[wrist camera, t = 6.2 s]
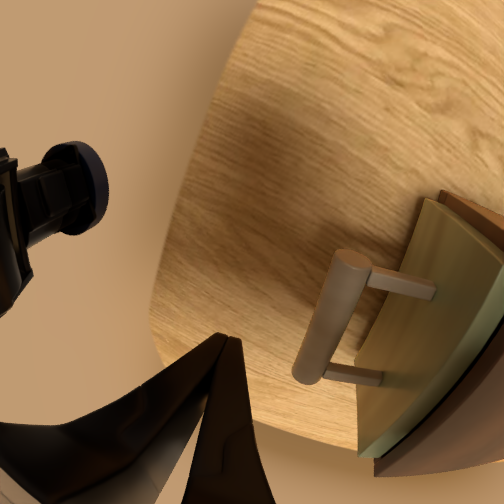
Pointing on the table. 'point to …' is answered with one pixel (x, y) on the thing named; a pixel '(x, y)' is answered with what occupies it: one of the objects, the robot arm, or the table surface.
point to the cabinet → (460, 395)
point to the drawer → (409, 325)
